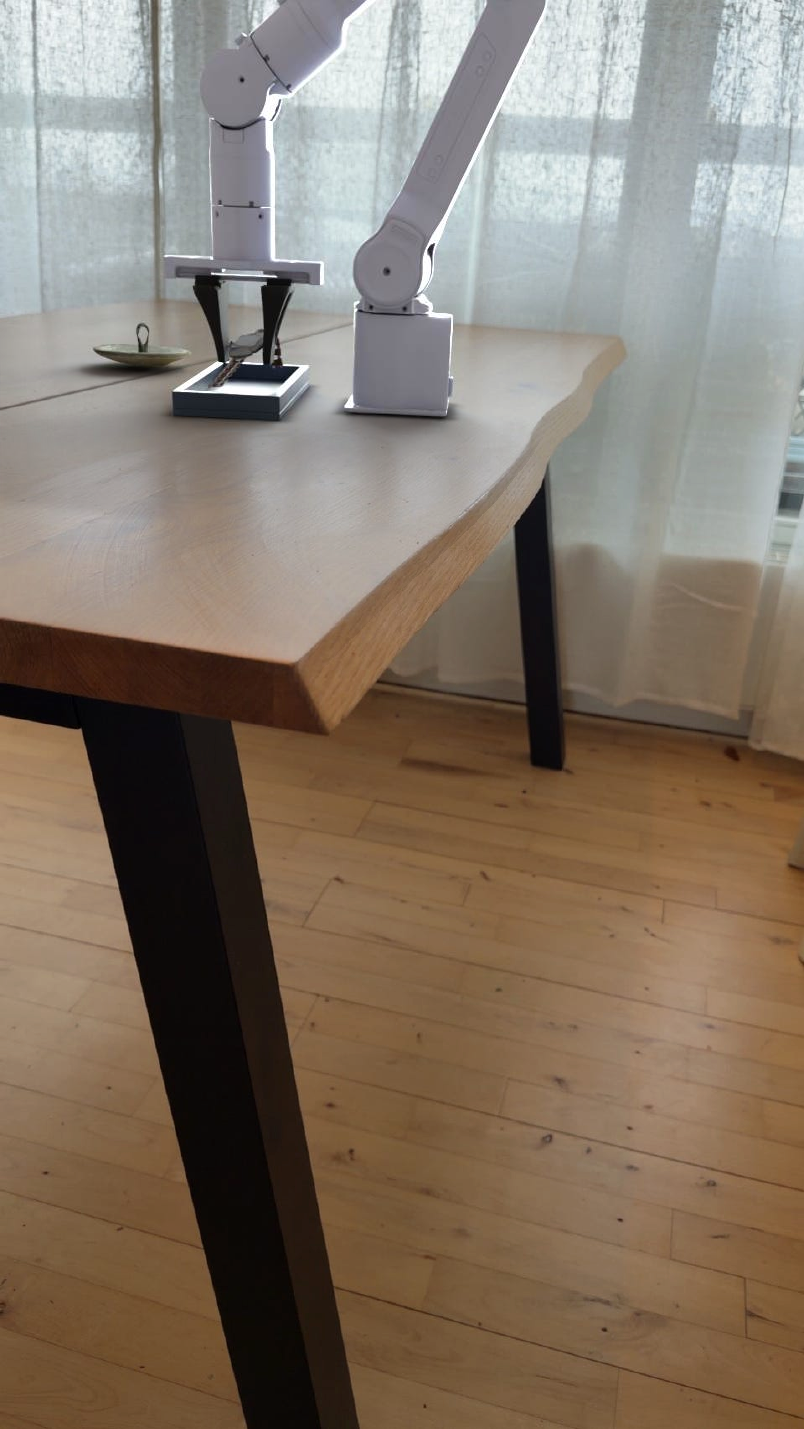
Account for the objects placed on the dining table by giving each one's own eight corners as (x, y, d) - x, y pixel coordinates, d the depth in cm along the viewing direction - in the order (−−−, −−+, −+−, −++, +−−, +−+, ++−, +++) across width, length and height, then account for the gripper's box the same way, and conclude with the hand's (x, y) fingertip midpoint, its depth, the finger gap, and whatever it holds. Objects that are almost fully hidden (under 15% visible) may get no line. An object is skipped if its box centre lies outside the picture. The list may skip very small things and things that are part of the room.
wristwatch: (295, 364, 115) (283, 315, 112) (242, 429, 105) (228, 378, 102) (262, 366, 117) (249, 318, 114) (207, 431, 106) (192, 380, 103)
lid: (182, 393, 124) (198, 348, 123) (92, 357, 120) (107, 311, 119) (175, 380, 133) (190, 339, 132) (91, 347, 130) (105, 303, 128)
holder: (218, 382, 120) (217, 361, 119) (309, 386, 119) (309, 365, 118) (172, 415, 102) (171, 391, 101) (279, 420, 101) (279, 396, 101)
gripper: (152, 203, 100) (160, 364, 106) (316, 211, 99) (315, 372, 105) (171, 203, 106) (178, 354, 112) (326, 209, 106) (325, 361, 112)
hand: (245, 362), depth 109 cm, fingers closed on wristwatch, 4 cm apart
